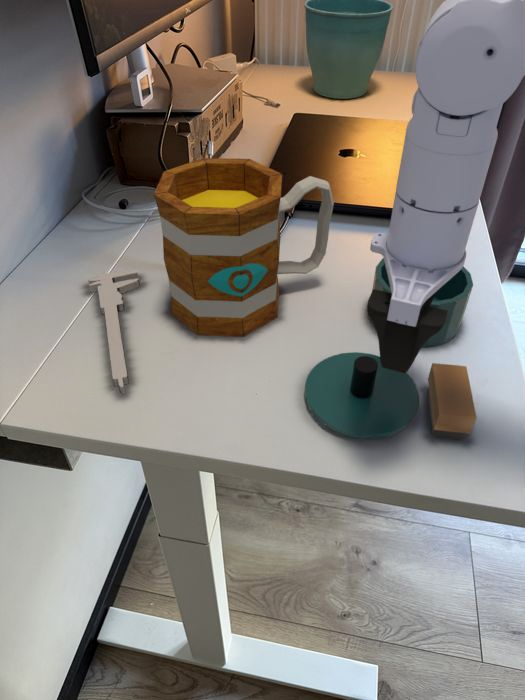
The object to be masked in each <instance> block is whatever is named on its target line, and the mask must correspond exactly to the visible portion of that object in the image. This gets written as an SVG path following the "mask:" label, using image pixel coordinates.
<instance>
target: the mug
mask: <svg viewBox="0 0 525 700" xmlns="http://www.w3.org/2000/svg"><path fill="white" fill-rule="evenodd" d="M282 183H283V173H281V172H278V171H277V170H275V169H272V168H270V167H268V166H266V165H264V164H262V163H260V162H258V161H255V160H253V159H251V158H229V157H228V158H227V157H225V158H223V157H221V158H220V157H201V158H199V159H196V160H193V161H190V162H188V163H187V162H186V163H184V164H182V165H178V166H176V167H173V168H169V169H167V170H164V171H163V173H162V175H161V177H160V179H159V181H158V184H157V185H156V188H155V191H154V193H153V196H154V200H155V203H156V207H157V211H158V214H159V217H160V218H159V219H160V225H161V233H162V249H163V250H162V251H163V261H164V265H165V270H166V274H167V277H168V278H167V279H168V283H169V289H170V307H171V308H170V311H171V312H170V314H171V315H172V316H173V317H175V318H176V319H177V320H178V321H180V322H181V323H182V324H183V325H185V326H186V327H187V328H188V329H190V331H192V332H193V333H194V334H196V335H197V336H213V337H238V338H239V337H242V338H244V337H246V336H248V335H250V334H251V333H254V331H256V330H258V329H260V328H261V327H263V326H265V325H267V324H268V323H270V322H272V321H274V320H275V319H277V318H278V317H279V301H280V286H279V285H280V284H279V277H278V275H288V274H290V275H291V274H298V275H306V274H308V273H310V272H312V271H314V270H315V269H317V268H319V266H320V265H321V263H322V261H323V259H324V258H325V256H326V255H327V254H326V253H327V248H328V241H329V235H330V224H331V219H332V215H333V210H334V204H335V201H334V197H333V196H334V195H333V193H332V188H331V185H330V183H329V181H327V180H326V179H322V178H318V177H315V176H312V175H309V176H307V177H305V178H303V179H302V180H300V181H297V182H296V183H295V184H294V186H292V188H290V190H289V191H288V192H287V193H286V194H285V195H284V196H282ZM315 189H316V190H317V189H318V190H320V193H321V203H320V208H319V212H318V217H317V221H316V222H317V223H316V233H315V234H316V236H315V242H314V243H315V244H314V248H313V250H312V251H311V254H310V257H308V258H306V259H305V260H302V261H293V260H281V261H280V251H281V249H280V248H281V226H280V213H282V212H283V213H284V212H286V211H290V210H292V209H293V208H295V207H296V206H297V205H298V203H299V202H300V201H301V200H302V199H303V197H304V196H305V195H306V194H308V193H310V192H312V191H313V190H315Z"/></svg>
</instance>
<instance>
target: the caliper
mask: <svg viewBox="0 0 525 700" xmlns="http://www.w3.org/2000/svg"><path fill="white" fill-rule="evenodd" d="M96 276H97V277H95V278H90V279H88V280H87V281H88V288H89V291H90V293H93V292H98V299H99V307H100V312H101V314H102V315H104V318H105V325H106V326H105V327H106V335H107V343H108V351H109V360H110V368H111V375H112V382H113V385H114V387H118V388H119V391H120V393H122V395H125V394H126V388H125V385H128V384H129V383H130V379H129V373H128V368H127V363H126V362H127V361H126V356H125V355H126V354H125V349H124V343H123V335H122V330H121V329H122V328H121V322H120V315H119V312H123V311H125V304H124V298H123V295H122V294H124V293H127V292H130V291H132V290H135V289H138V288H139V287H141V282H140V277H139V273H138V271H137V270H124V271H121V270H120V271H112V272H111V271H110V272H107V273H102V274H97V275H96Z"/></svg>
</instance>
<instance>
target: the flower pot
mask: <svg viewBox="0 0 525 700" xmlns="http://www.w3.org/2000/svg"><path fill="white" fill-rule="evenodd" d="M304 10H305V44H306V45H305V47H306V53H307V58H308V63H309V68H310V71H311V75H312V82H313V86H312V89H313V91H314V92H315V93H316V94H318V95H319V96H322V97H326V98H331V99H343V100H346V99H355V98H359V97H363V96H364V95H365V94H366V93H367V91H368V86H369V83H370V80H371V78H372V76H373V74H374V72H375V69H376V67H377V65H378V63H379V61H380V58H381V55H382V52H383V49H384V45H385V41H386V36H387V31H388V27H389V23H390V19H391V14H392V13H393V11H394V5H393V4H392V3H390V2H388V1H386V0H306V1H305V2H304Z"/></svg>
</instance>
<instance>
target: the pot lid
mask: <svg viewBox="0 0 525 700" xmlns="http://www.w3.org/2000/svg"><path fill="white" fill-rule="evenodd" d="M304 396H305V401H306V405H307V407H308V408H309V410H310V412H311V413H312V415H314V417H315V418H316V419H317V420H318V421H319V422H321V423H322V424H323V425H324V426H327V427H328V428H329V429H331V430H333V431H335V432H336V433H338V434H339V433H340V434H342V435H345V436H348V437H352V438H359V439H379V438H385V437H388V436H392V435H394V434H396V433H398V432H400V431H402V430H404V429H405V428H406V427H407V426H409V425H410V423H412V421H413V420H414V418H415V417H416V414H417V412H418V409H419V405H420V395H419V390H418V388H417V385H416V383H415V381H414V380H413V378H412V377H411V375H410V374H409V373H408V371H407V372H406V373H402V372H398V371H394V370H390V369H387V368H383V367H382V365H381V360H380V355H376V354H372V353H367V352H343V353H339V354H338V353H337V354H334V355H331V356H329V357H326V358H324V359H322V360H321V361H320V362H318V363H317V364H316V365H315V366H314V367H313V368H312V369H311V370H310V372H309V373H308V375H307V377H306V379H305V383H304Z"/></svg>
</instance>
